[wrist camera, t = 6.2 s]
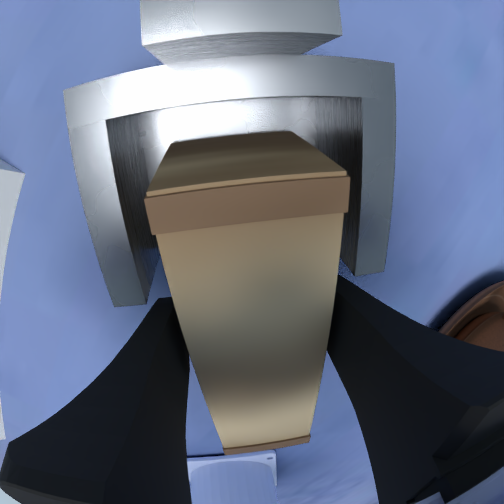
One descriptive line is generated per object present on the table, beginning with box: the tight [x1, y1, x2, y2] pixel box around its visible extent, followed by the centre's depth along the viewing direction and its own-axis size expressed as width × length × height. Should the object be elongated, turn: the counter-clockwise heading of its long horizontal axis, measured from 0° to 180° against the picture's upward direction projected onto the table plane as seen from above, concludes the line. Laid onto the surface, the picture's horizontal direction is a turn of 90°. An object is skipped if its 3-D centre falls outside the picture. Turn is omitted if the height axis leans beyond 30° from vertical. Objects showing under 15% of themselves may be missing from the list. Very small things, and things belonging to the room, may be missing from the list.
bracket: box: [63, 0, 396, 307], centre depth 8 cm, size 7×8×7 cm
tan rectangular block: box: [144, 131, 350, 455], centre depth 11 cm, size 13×4×5 cm, turn 4°
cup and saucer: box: [438, 281, 504, 352], centre depth 16 cm, size 12×12×6 cm
